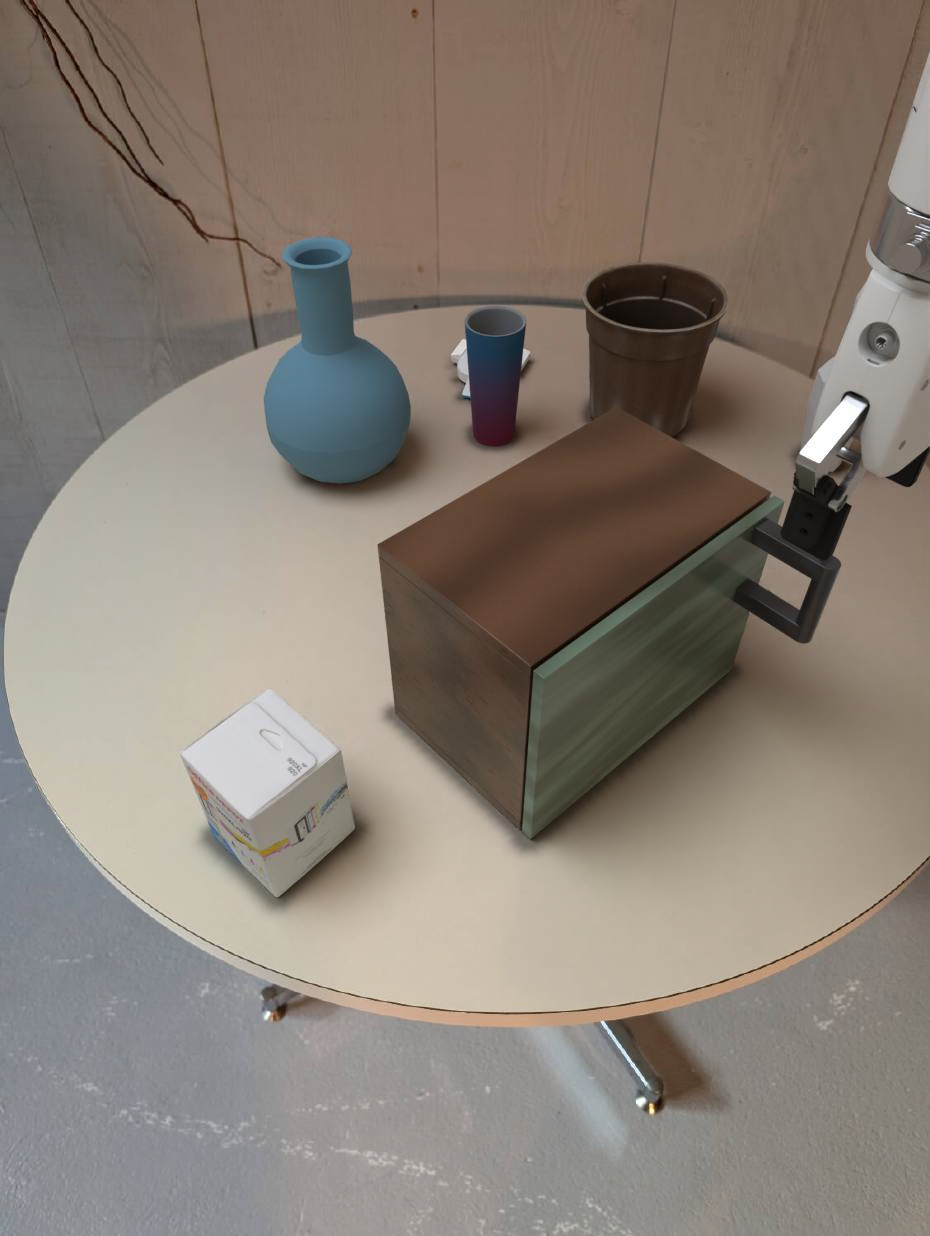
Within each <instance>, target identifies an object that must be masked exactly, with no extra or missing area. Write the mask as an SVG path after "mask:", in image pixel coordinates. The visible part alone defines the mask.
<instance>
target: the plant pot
mask: <svg viewBox="0 0 930 1236" xmlns="http://www.w3.org/2000/svg"><path fill="white" fill-rule="evenodd" d="M581 301H582V304H583V306H584V307H585V328H586V332H587V333H588V351H589V352H588V358H589V359H588V363H589V365H588V366H589V368H588V369H589V370H588V371H589V373H588V374H589V376H588V377H589V417H590V418H592V421H593V420H595V419H596V418H598V417H600V416H602V415H603V414H605V413H607V412H608V411H610V410H612V409H614V408H615V407H618V408H619V409H621V410H623V411H625V412H627V413H629V414H630V415H632V416H634V417H636V418H638V419H639V420H641V421H643V422H645V423H647V424H649V425H650V426H652V427H654V428H656V429H658V430H659V431H661V432H663V433H665V434H667V435H669V436H670V437H672V438H674V437H675V436H677V435H679V433H681V432H682V431H683V430H684V429H685V427H686V426H687V424H688V421H689V418H690V414H691V410H692V407H693V403H694V399H695V396H696V392H697V389H698V386H699V383H700V379H701V376H702V372H703V368H704V366H705V362H706V359H707V355H708V352H709V349H710V347H711V344H712V343H713V341H714V340H715V338H716V335H717V331H718V327H719V325H720V322H721V319H722V318H723V317H724V316H725V314H726V312H727V310H728V307H729V304H730V298H729V294H728V292H727V290H726V289H725V287H724V285H722V284H721V282H719V281H718V280H717V279H716V278H714V277H712V276H710V275H709V274H707V273H704V272H703V271H700V270H698V269H694V268H692V267H686V266H683V265H679V264H676V263H675V264H674V263H668V262H657V261H656V262H655V261H642V262H641V261H639V262H629V263H623V264H619V265H614V266H611V267H607V268H605V269H602V270H600V271H598V272H596V273H594V274H593V275H592V276H591V277H589V278H588V279H587V280H586V281H585V283H584V285H583V286H582V289H581Z"/></svg>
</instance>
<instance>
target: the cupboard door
mask: <svg viewBox="0 0 930 1236" xmlns="http://www.w3.org/2000/svg"><path fill="white" fill-rule="evenodd" d="M785 503H786V500H784V499H782V498H780V497H779V496H777V495H773V496H770V499H768V500H767V501H766V502H764V503H763V504H762V505H760V506H759V507H757V508H756V509H755V510H753V511H752V512H751V513H749V514H748V515H746V516H745V517H744V518H742V519H741V520H740V521H738V522H737V523H735V524H734V525H733V526H731V527H730V528H729V529H727V530H726V531H724V532H723V533H722V534H720V535H719V536H718V537H716V538H715V539H714V540H712V541H711V542H709V543H708V544H707V545H705V546H704V547H703V548H701V549H700V550H698V551H697V552H696V553H694V554H693V555H692V556H690V557H689V558H687V559H686V560H685V561H683V562H682V563H681V564H679V565H678V566H676V567H675V568H674V569H672V570H671V571H670V572H668V573H667V574H665V575H664V576H663V577H661V578H660V579H659V580H657V581H656V582H654V583H653V584H652V585H650V586H649V587H648V588H646V589H645V590H643V591H642V592H641V593H639V594H638V595H637V596H635V597H634V598H632V599H631V600H630V601H628V602H627V603H626V604H624V605H623V606H621V607H620V608H619V609H617V610H616V611H615V612H613V613H612V614H610V615H609V616H608V617H606V618H605V619H604V620H602V621H601V622H600V623H598V624H597V625H595V626H594V627H593V628H591V629H590V630H589V631H587V632H586V633H584V634H583V635H582V636H580V637H579V638H578V639H576V640H575V641H573V642H572V643H571V644H569V645H568V646H567V647H565V648H564V649H562V650H561V651H560V652H558V653H557V654H556V655H554V656H553V657H551V658H550V659H549V660H547V661H546V662H545V663H543V664H542V665H540V666H539V667H538V668H536V669H535V670H534V671H533V685H532V699H531V713H530V727H529V741H528V755H527V769H526V784H525V798H524V812H523V826H522V829H521V832H522V833H523V834H524V835H525V836H526V837H527V838H528V839H529V840H533V838H535V837H536V836H537V835H538V834H539V833H541V832H542V831H543V830H544V829H545V828H547V826H549V825H550V824H551V823H552V822H553V821H554V820H556V819H557V818H558V817H559V816H561V815H562V814H563V813H564V812H565V811H566V810H568V809H569V808H570V807H571V806H572V805H573V804H575V803H576V802H577V801H578V800H579V799H580V798H582V797H583V796H585V794H586V793H588V792H589V791H590V790H591V789H593V787H595V786H596V785H598V783H600V781H603V779H604V778H606V777H607V775H609V774H610V773H612V772H613V770H614V769H616V768H617V767H619V766H620V765H621V764H622V763H623V762H624V761H626V760H627V759H628V758H630V757H631V756H632V755H633V754H634V753H635V752H636V751H638V749H640V748H641V747H642V746H643V745H644V744H646V743H647V742H648V741H650V739H651V738H653V737H654V736H656V735H657V734H658V733H659V732H660V731H661V730H662V729H663V728H665V727H666V726H667V725H668V724H669V723H670V722H672V721H673V720H674V719H675V718H676V717H678V716H679V715H680V714H681V713H682V712H684V711H685V710H686V709H687V708H688V707H690V705H692V704H693V703H695V701H696V700H697V699H699V698H700V697H701V696H702V695H704V694H705V693H706V692H707V691H708V690H709V689H710V688H712V687H713V686H714V685H715V684H716V683H718V682H719V681H720V680H722V679H723V678H724V677H725V676H727V674H728V673H729V672H731V671H732V669H733V666H734V663H735V661H736V658H737V655H738V651H739V647H740V645H741V642H742V638H743V636H744V632H745V628H746V627H747V626H746V625H747V622H748V619H749V616H750V614H752V615H754V616H756V617H757V618H759V619H760V620H762V621H764V622H765V623H766V624H768V625H770V626H771V627H773V628H774V629H776V630H778V632H781V633H782V634H784V635H785V636H787V637H788V638H790V639H792V640H793V641H795V642H796V643H799V644H802V645H803V644H805V645H806V644H809V643H810V642H811V641H812V640H813V638H814V635H815V632H816V630H817V628H818V625H819V623H820V620H821V617H822V615H823V613H824V610H825V608H826V605H827V603H828V600H829V598H830V595H831V593H832V590H833V588H834V585H835V583H836V580H837V577H838V575H839V573H840V570H841V568H842V562H841V560H840V559H839V558H837V556H835V555H834V554H833V555H832V556H831V557H830V558H829V559H828V560H826V561H822V560H820V559H818V558H816V557H814V556H813V555H811V554H809V553H807V552H806V551H804V550H802V549H800V548H798V547H797V546H795V545H793V544H791V543H789V542H788V541H786V540H784V539H783V538H782V537H781V529H782V526H783V525H780V524H779V521H780V518H781V516H782V515H781V514H782V511H783V508H784V505H785ZM769 555H770V556H772V557H773V558H775V559H777V560H778V561H780V562H781V563H784V564H785V565H787V566H789V567H790V568H792V569H793V570H796V571H797V572H799V573H800V574H802V575H804V576H806V577H807V578H809V579H810V581H809V584H808V587H807V590H806V593H805V596H804V598H803V600H802V603H801V606H800V608H798V607H796V606H794V605H792V604H791V603H790V602H788V601H786V600H784V599H783V598H781V597H780V596H778V595H777V594H774V593H773V592H771V591H770V590H768V589H767V588H765V587H764V586H762V585H760V582H761V578H762V575H763V571H764V569H765V565H766V563H767V559H768V556H769Z"/></svg>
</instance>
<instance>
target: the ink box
mask: <svg viewBox="0 0 930 1236" xmlns="http://www.w3.org/2000/svg"><path fill="white" fill-rule="evenodd" d="M179 756H180V758H181V760H182V763H183V765H184V767H185V770H186V773H187V775H188V778H189V779H190V782H191V785H192V786H193V789H194V791H195V794H196V796H197V799H198V801H199V804H200V806H201V809H202V812H203V814H204V817H205V819H206V821H207V824H208V826H209V828H210V831H211V834H212V836H213V837H214V838H215V839H216V840H217V841H218V842H219V843H220V844H221V845H222V846H223V847H224V848H225V849H226V850H227V851H228V852H229V853H230V854H231V855H232V856H233V857H234V858H235V859H236V860H237V861H238V862H239V863H240V864H241V865H242V866H243V867H244V868H245V869H246V870H247V871H248V872H249V873H250V874H251V875H252V876H253V877H254V878H255V879H257V881H259V883H260V884H261V885H262V886H264V888H266V889H267V890H268V891H269V893H271V895H272V896H274V897H275V898H279V897H281V895H283V894H284V893H285V892H286V891H287V890H289V889H290V888H291V887H292V886H293V885H295V883H297V882H298V881H299V880H300V879H302V878H303V877H304V876H305V875H306V874H307V873H309V872H310V871H311V870H312V869H313V868H314V867H315V866H317V864H319V863H320V862H321V861H322V860H323V859H324V858H325V857H326V856H328V854H330V853H331V852H332V851H333V850H334V849H335V848H336V847H337V846H338V845H339V844H341V843H342V842H343V841H344V840H345V839H346V838H347V837H348V836H349V835H350V834H351V833H353V832H354V831H355V829H356V824H355V819H354V813H353V808H352V804H351V797H350V791H349V786H348V782H347V776H346V769H345V763H344V758H343V752H342V749H341V748H340V747H338V746H337V745H336V744H335V743H334V742H333V741H332V740H330V738H328V737H327V736H326V735H325V734H324V733H322V731H320V729H318V728H316V726H315V725H313V724H312V723H311V722H310V720H309V721H308V719H306V718H305V717H304V716H303V715H302V714H301V713H300V712H298V711H297V710H296V709H295V708H294V707H293V706H291V705H290V704H289V703H288V702H287V701H286V700H285V699H284V698H283V697H281V696H280V695H279V694H278V693H277V692H275V691H274V689H271V688H270V687H269V688H267V689H266V690H264V691H263V692H261V693H260V694H258V695H256V696H255V697H253V698H252V699H251V700H249V701H248V702H245V704H243V705H242V706H240V707H238V709H236V710H235V711H233V712H232V713H230V714H229V715H228V716H226V717H225V718H223V719H221V720H220V721H218V723H216V724H215V725H214V726H212V727H211V728H209V729H208V730H207V731H205V732H204V733H203V734H201V736H199V737H197V738H196V739H195V740H194V741H193V742H191V743H190V744H188V746H186V747H184V748H183V749H182V750H181V751H180V752H179Z"/></svg>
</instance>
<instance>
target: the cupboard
mask: <svg viewBox="0 0 930 1236" xmlns="http://www.w3.org/2000/svg"><path fill="white" fill-rule="evenodd" d="M771 495H772V491H770V490H769V489H767V488H765V487H763V486H762V485H759V484H758V483H756V482H754V481H752V480H751V479H749V478H746V477H745V476H743V475H742V474H739V473H738V472H736V471H734V470H732V469H730V468H729V467H726V466H725V465H723V464H721V463H719V462H717V461H716V460H715V459H712V458H710V457H709V456H706V455H705V454H703V453H702V452H699V450H696V449H694V448H692V447H690V446H688V445H687V444H685V443H684V442H682V441H680V440H678V439H676V438H674V437H670V436H669V435H667V434H665V433H663V432H661V431H659V430H658V429H656V428H654V427H652V426H650V425H649V424H647V423H645V422H643V421H641V420H639V419H638V418H636V417H634V416H632V415H630V414H629V413H627V412H625V411H623V410H621V409H619V408H618V407H615V408H614V409H612V410H610V411H608V412H607V413H605V414H603V415H602V416H600V417H598V418H596V419H595V420H593V419H592V421H589V422H587V423H586V424H584V425H583V426H581V427H579V428H576V429H575V430H574V431H571V433H568V434H567V435H565V436H563V437H562V438H560V439H558V440H556V441H555V442H552V443H551V444H550V445H548V446H546V447H544V448H542V449H541V450H539V451H537V452H536V453H534V454H532V455H530V456H528V457H526V458H524V459H523V460H522V461H520V462H518V463H516V464H515V465H513V466H510V468H508V469H506V470H504V471H503V472H500V473H499V474H497V475H495V476H494V477H492V478H490V479H489V480H487V481H485V482H483V483H482V484H480V485H478V486H476V487H474V488H472V489H471V490H469V491H467V492H465V493H464V494H463V495H461V496H459V497H457V498H456V499H454V500H452V501H450V502H449V503H447V504H445V505H443V506H442V507H440V508H438V509H437V510H435V511H433V512H431V513H430V514H428V515H426V516H424V517H423V518H420V519H419V520H418V521H417V520H416V522H414V523H412V524H410V525H409V526H406V527H405V528H403V529H402V530H400V531H398V532H396V533H395V534H393V535H391V536H390V537H388V538H386V539H385V540H382V541H381V542H379V543H378V544H377V553H378V563H379V572H380V580H381V593H382V600H383V601H382V602H383V609H384V610H383V611H384V619H385V629H386V630H385V631H386V636H387V638H386V639H387V649H388V657H389V666H390V675H391V684H392V685H391V686H392V695H393V705H394V714H395V715H396V716H397V717H398V718H399V719H400V720H401V721H402V722H404V723H405V725H406V726H408V727H409V728H410V729H411V731H413V732H414V733H415V734H416V735H418V736H419V738H420V739H422V741H424V742H425V743H426V744H427V745H428V746H429V747H430V748H431V749H432V750H433V751H434V752H436V754H437V755H439V756H440V757H441V759H443V760H444V761H445V762H446V763H447V764H448V765H449V766H451V767H452V769H454V770H455V771H456V773H458V774H459V775H460V776H461V777H462V778H463V779H464V780H465V781H466V782H467V783H469V784H470V785H471V786H472V787H473V788H474V790H476V791H477V792H478V793H479V794H480V795H481V796H482V797H483V798H484V799H486V801H488V802H489V803H490V805H492V806H493V807H494V808H495V809H496V810H497V811H498V812H500V814H502V816H504V817H505V818H506V819H507V820H508V821H509V822H510V823H511V824H513V826H514V827H516V828H517V830H519V831H520V830H522V826H523V812H524V798H525V784H526V769H527V755H528V741H529V727H530V713H531V699H532V685H533V671H534V670H535V669H536V668H538V667H539V666H540V665H542V664H543V663H545V662H546V661H547V660H549V659H550V658H551V657H553V656H554V655H556V654H557V653H558V652H560V651H561V650H562V649H564V648H565V647H567V646H568V645H569V644H571V643H572V642H573V641H575V640H576V639H578V638H579V637H580V636H582V635H583V634H584V633H586V632H587V631H589V630H590V629H591V628H593V627H594V626H595V625H597V624H598V623H600V622H601V621H602V620H604V619H605V618H606V617H608V616H609V615H610V614H612V613H613V612H615V611H616V610H617V609H619V608H620V607H621V606H623V605H624V604H626V603H627V602H628V601H630V600H631V599H632V598H634V597H635V596H637V595H638V594H639V593H641V592H642V591H643V590H645V589H646V588H648V587H649V586H650V585H652V584H653V583H654V582H656V581H657V580H659V579H660V578H661V577H663V576H664V575H665V574H667V573H668V572H670V571H671V570H672V569H674V568H675V567H676V566H678V565H679V564H681V563H682V562H683V561H685V560H686V559H687V558H689V557H690V556H692V555H693V554H694V553H696V552H697V551H698V550H700V549H701V548H703V547H704V546H705V545H707V544H708V543H709V542H711V541H712V540H714V539H715V538H716V537H718V536H719V535H720V534H722V533H723V532H724V531H726V530H727V529H729V528H730V527H731V526H733V525H734V524H735V523H737V522H738V521H740V520H741V519H742V518H744V517H745V516H746V515H748V514H749V513H751V512H752V511H753V510H755V509H756V508H757V507H759V506H760V505H762V504H763V503H764V502H766V501H767V500H768V499H770V498H771Z"/></svg>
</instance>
